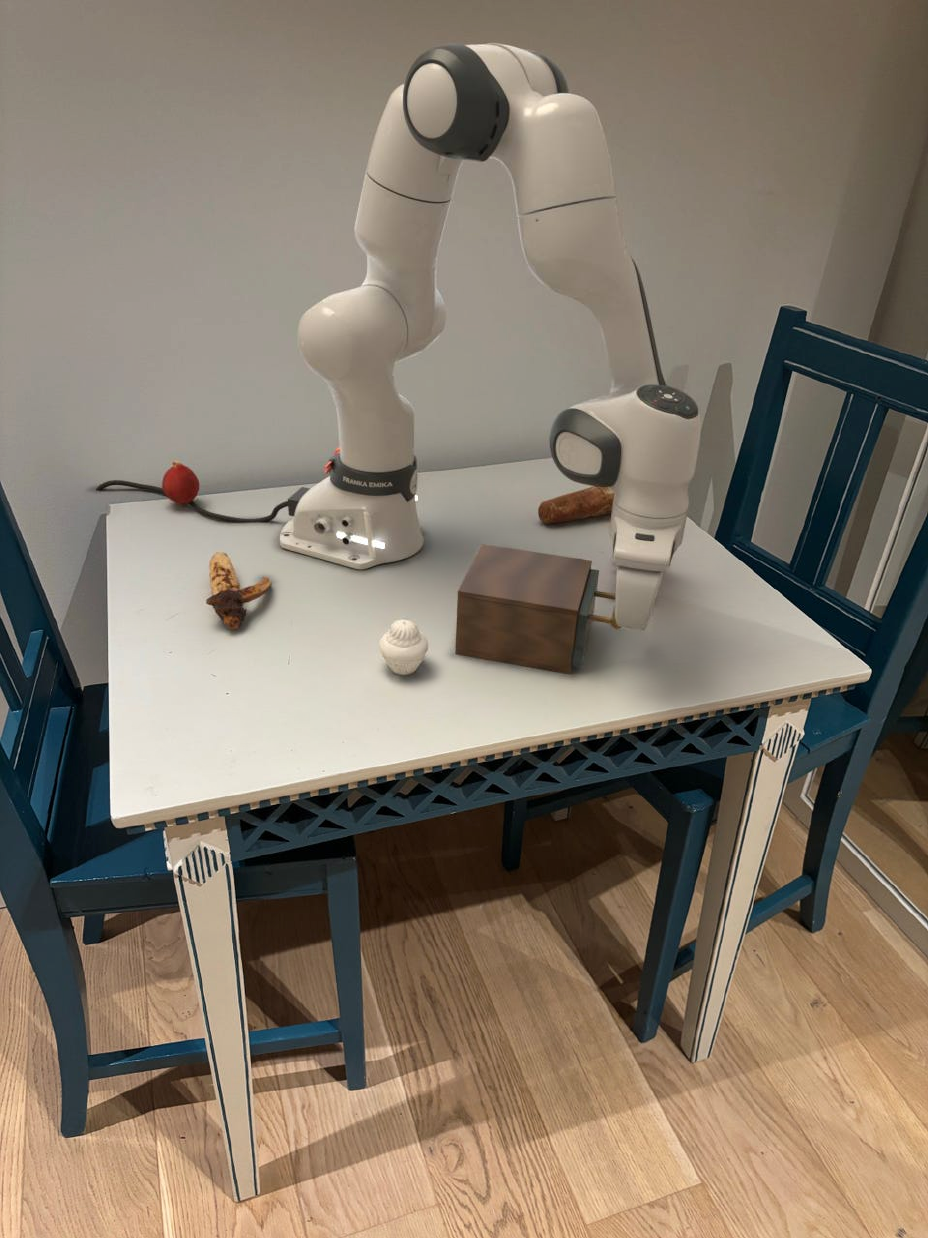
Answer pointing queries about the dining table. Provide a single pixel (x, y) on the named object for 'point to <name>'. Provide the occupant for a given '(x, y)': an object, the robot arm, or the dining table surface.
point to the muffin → (403, 647)
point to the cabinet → (521, 607)
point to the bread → (577, 505)
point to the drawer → (589, 616)
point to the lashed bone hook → (231, 591)
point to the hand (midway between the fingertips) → (631, 621)
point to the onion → (180, 484)
